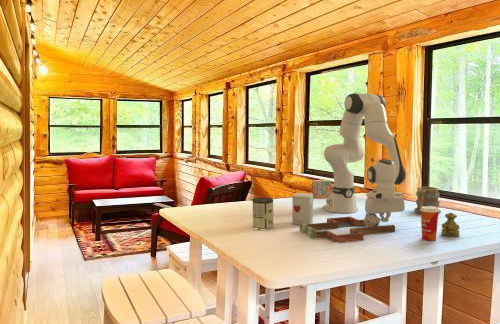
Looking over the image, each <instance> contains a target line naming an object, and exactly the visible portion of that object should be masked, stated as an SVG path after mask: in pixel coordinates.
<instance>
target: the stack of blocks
mask: <svg viewBox="0 0 500 324" xmlns="http://www.w3.org/2000/svg"><path fill="white" fill-rule="evenodd" d="M332 187H334V183H332V181H331V180H330V179H317V180H316V179H315V180H314V179H312V180H311V194H313V200H327V198H328V197H329V196H330V195H331V194H332V193H333V192H332V191H333V189H332Z"/></svg>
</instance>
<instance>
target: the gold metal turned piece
mask: <svg viewBox="0 0 500 324" xmlns="http://www.w3.org/2000/svg"><path fill="white" fill-rule="evenodd" d="M444 217H445V218H446V219H447V220H446V221H445V222H443V223H442V224H441V228H442V229H441V230H440V231H441V235H442V236H445V237H449V238H450V237H451V238H454V237H455V238H456V237H459V236H460V228H461V227H460V225H459V224H458V223H457V222H456V221H455V219H456V218H458V216H457V215H456V214H454V213H453V212H448V213H446V214H444Z"/></svg>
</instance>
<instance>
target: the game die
mask: <svg viewBox="0 0 500 324" xmlns="http://www.w3.org/2000/svg"><path fill="white" fill-rule="evenodd" d="M363 220H364V221H363V222H361V223H364V224H365V225H366V226H365V227H374V226H380V225H379V224H380V222H381V220H382V219H381V217H378V215H377V214H368V213H366V212H365V216H364V219H363Z"/></svg>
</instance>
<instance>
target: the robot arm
mask: <svg viewBox="0 0 500 324" xmlns="http://www.w3.org/2000/svg"><path fill="white" fill-rule="evenodd" d="M344 108H345V110H344V112H343V116H342V119H341V123H340V126H339V130H338V131H339V135H340V136H341V137H342V139H343V143H340V144H339V143H336V144H335V143H334V144H331V145H328V146H326V147H325V148H324V151H323V152H324V153H323V157H324V160H325V161H326V163H328V164H329V165H330V167H331V169H332V172H333V184H334V187H332V189H333V191H332V192H333V193H332V194H331V195H330V196H329V197H328V198H327V199H325V203H326V204H325V205H322V208H323V209H324V210H326V211H327V212H329V213H337V214H352V213H355V212H357V211H359V208H358V207H357V197H356V195H355V187H354V180H355V179H354V176H355V175H354V172H352V171H351V170H350V169H349V168H348V163H349V164H350V163H357V162H359V161H361V160H363V158H364V155H365V150H364V148H363V146H362V145H361V142H360V134H361V133H360V132H361V129H362V124H363V121H364V132H365V135H366V137H367V138H368V139H369V140H371V141H372V142H375V143H377V144H380V145H382V146H384V147H385V148H386V149H387V150H388V153H389V155H388V156H389V158H390V159H388V158H387V159H385V158H384V159H379V160H377V162H376V164H374V165H371V166H370V167H369V168H368V169H367V170H366V171H367V172H366V175H367V176H366V177H367V181H368V182H369V183H371V184H373V185H375V189H373V190H370V191H368V192H367V193H366V197H367V198H366V199H365V205H364V210H365V213H367V214H376V215H377V214H379V216H380V217H379V218H380V219H382V220H380V222H382V223H387V222H389V221H390V220H389V218H390V217H391V215H392V213H398V212H399V213H401V212H404V211H405V207H406V205H405V195H404V194H403V193H402V192H401V191H400V192H396V186H400V185H401V184H402V183H403V182H404V181H405V180H406V178H407V177H406V175H407V173H406V169H405V167H404V164H403V161H402V158H401V154H400V149H399V145H398V142H397V138H396V136H395V134H394V133H392V132H391V130H390V129H389V127H388V126H389V125H388V119H387V113H386V109H385V108H386V100H385V97H383V96H382V95H379V94H373V93H357V92H356V93H349V94H348V95H347V96H346V97H345V99H344ZM384 216H385V217H384Z"/></svg>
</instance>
